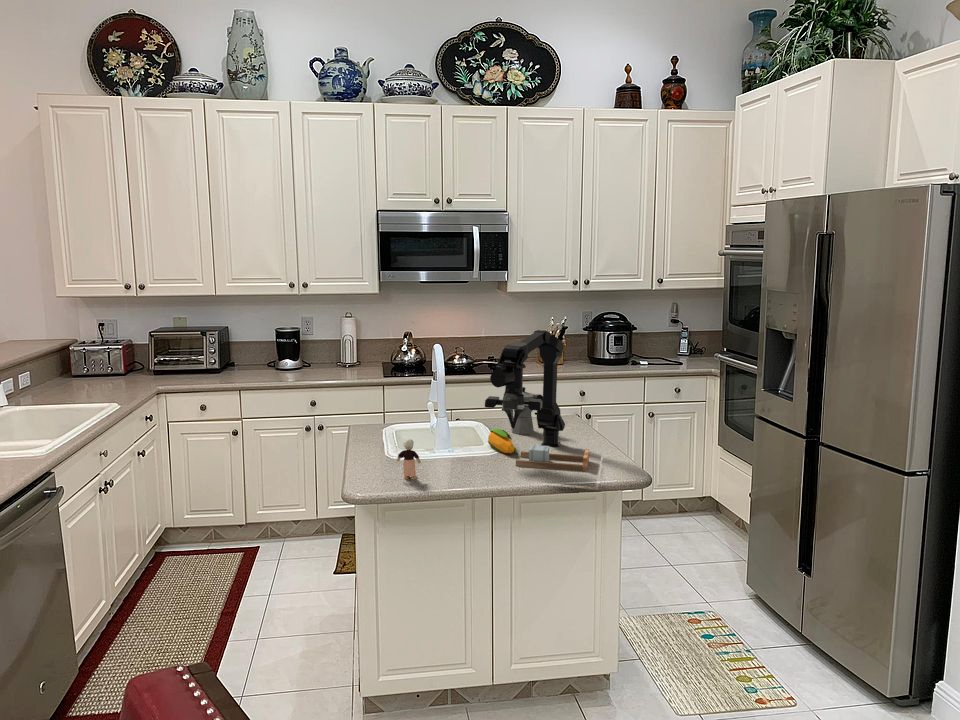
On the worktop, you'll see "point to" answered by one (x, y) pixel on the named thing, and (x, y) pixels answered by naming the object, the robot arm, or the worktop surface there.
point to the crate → (539, 453)
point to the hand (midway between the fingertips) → (513, 428)
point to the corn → (501, 441)
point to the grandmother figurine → (409, 460)
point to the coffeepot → (526, 416)
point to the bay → (557, 465)
